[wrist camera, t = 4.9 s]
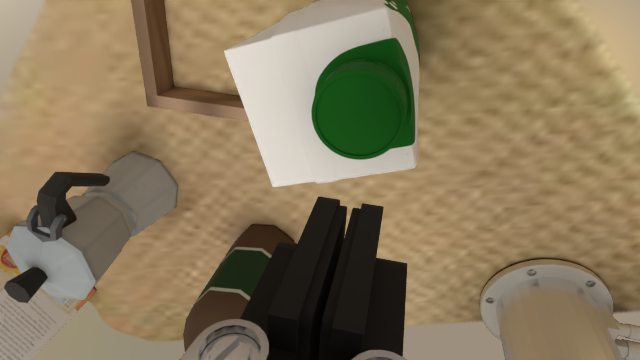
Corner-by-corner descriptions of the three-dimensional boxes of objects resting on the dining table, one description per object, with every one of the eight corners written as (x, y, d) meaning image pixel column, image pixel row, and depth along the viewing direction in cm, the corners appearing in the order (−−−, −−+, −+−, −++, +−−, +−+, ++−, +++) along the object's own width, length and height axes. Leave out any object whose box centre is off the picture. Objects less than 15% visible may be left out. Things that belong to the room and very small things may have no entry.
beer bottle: (307, 236, 46) (216, 460, 26) (290, 281, 50) (200, 506, 30) (244, 211, 46) (105, 415, 26) (232, 258, 51) (104, 466, 30)
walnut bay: (293, -71, 32) (282, -73, 29) (288, 114, 39) (278, 126, 37) (140, -82, 34) (117, -85, 31) (164, 96, 41) (147, 106, 39)
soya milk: (426, 79, 35) (431, 200, 18) (327, 99, 38) (250, 220, 21) (409, -31, 31) (394, -11, 14) (301, 1, 34) (181, 49, 17)
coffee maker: (175, 236, 51) (69, 359, 36) (112, 213, 51) (-20, 323, 36) (186, 134, 43) (56, 234, 28) (111, 107, 43) (-58, 190, 28)
